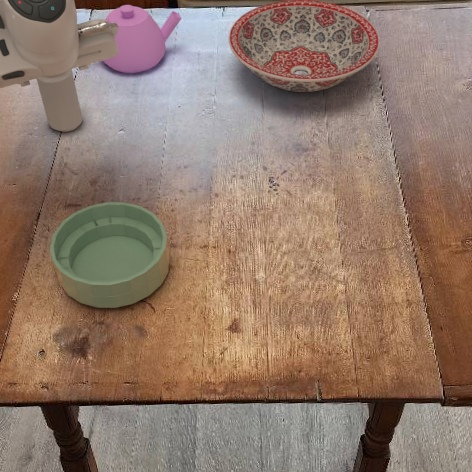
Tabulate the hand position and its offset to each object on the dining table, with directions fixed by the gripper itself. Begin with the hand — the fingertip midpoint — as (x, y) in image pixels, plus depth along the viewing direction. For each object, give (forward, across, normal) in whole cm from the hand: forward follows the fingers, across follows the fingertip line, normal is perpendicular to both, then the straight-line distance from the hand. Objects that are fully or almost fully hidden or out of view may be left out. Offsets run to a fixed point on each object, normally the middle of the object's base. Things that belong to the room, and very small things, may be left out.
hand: (53, 72), depth 107 cm
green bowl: (-5, +1, +32) cm, 33 cm away
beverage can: (+22, 0, +3) cm, 22 cm away
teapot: (+34, -19, -9) cm, 40 cm away
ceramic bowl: (+23, -48, +6) cm, 53 cm away
